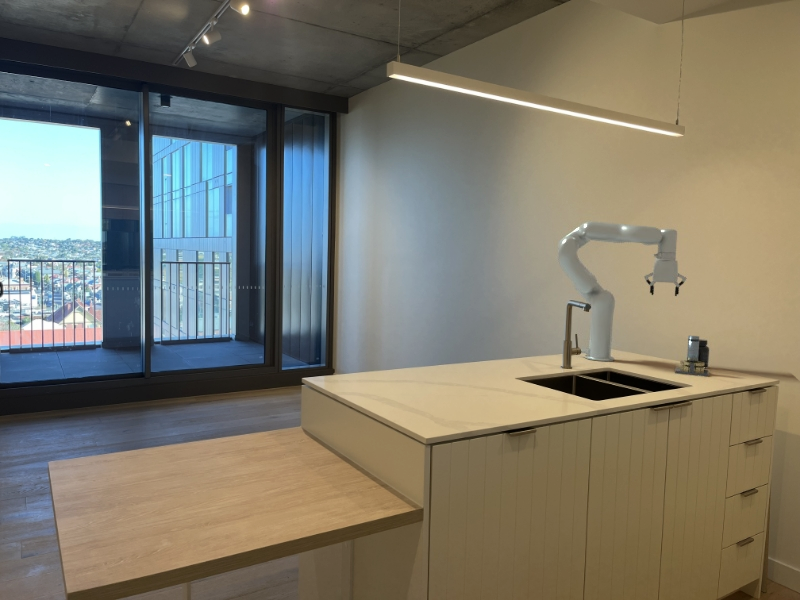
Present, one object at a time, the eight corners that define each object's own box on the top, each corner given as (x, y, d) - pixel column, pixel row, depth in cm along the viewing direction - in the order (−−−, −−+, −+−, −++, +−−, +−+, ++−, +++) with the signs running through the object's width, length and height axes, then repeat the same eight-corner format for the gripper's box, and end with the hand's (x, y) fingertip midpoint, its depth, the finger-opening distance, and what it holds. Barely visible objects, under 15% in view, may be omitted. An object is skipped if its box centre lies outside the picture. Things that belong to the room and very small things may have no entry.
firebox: (675, 373, 247) (675, 362, 247) (675, 369, 258) (676, 358, 257) (708, 376, 242) (709, 365, 241) (707, 372, 252) (708, 361, 252)
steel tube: (686, 370, 249) (688, 336, 248) (686, 369, 252) (688, 335, 252) (697, 371, 247) (699, 336, 246) (697, 370, 251) (699, 336, 250)
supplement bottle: (687, 366, 268) (688, 338, 267) (698, 365, 271) (699, 338, 270) (700, 368, 262) (702, 340, 261) (711, 368, 265) (713, 340, 264)
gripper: (645, 256, 273) (642, 294, 274) (687, 257, 265) (685, 296, 266) (646, 256, 280) (643, 294, 280) (687, 257, 272) (685, 296, 273)
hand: (664, 295), depth 273 cm, fingers open, 9 cm apart
